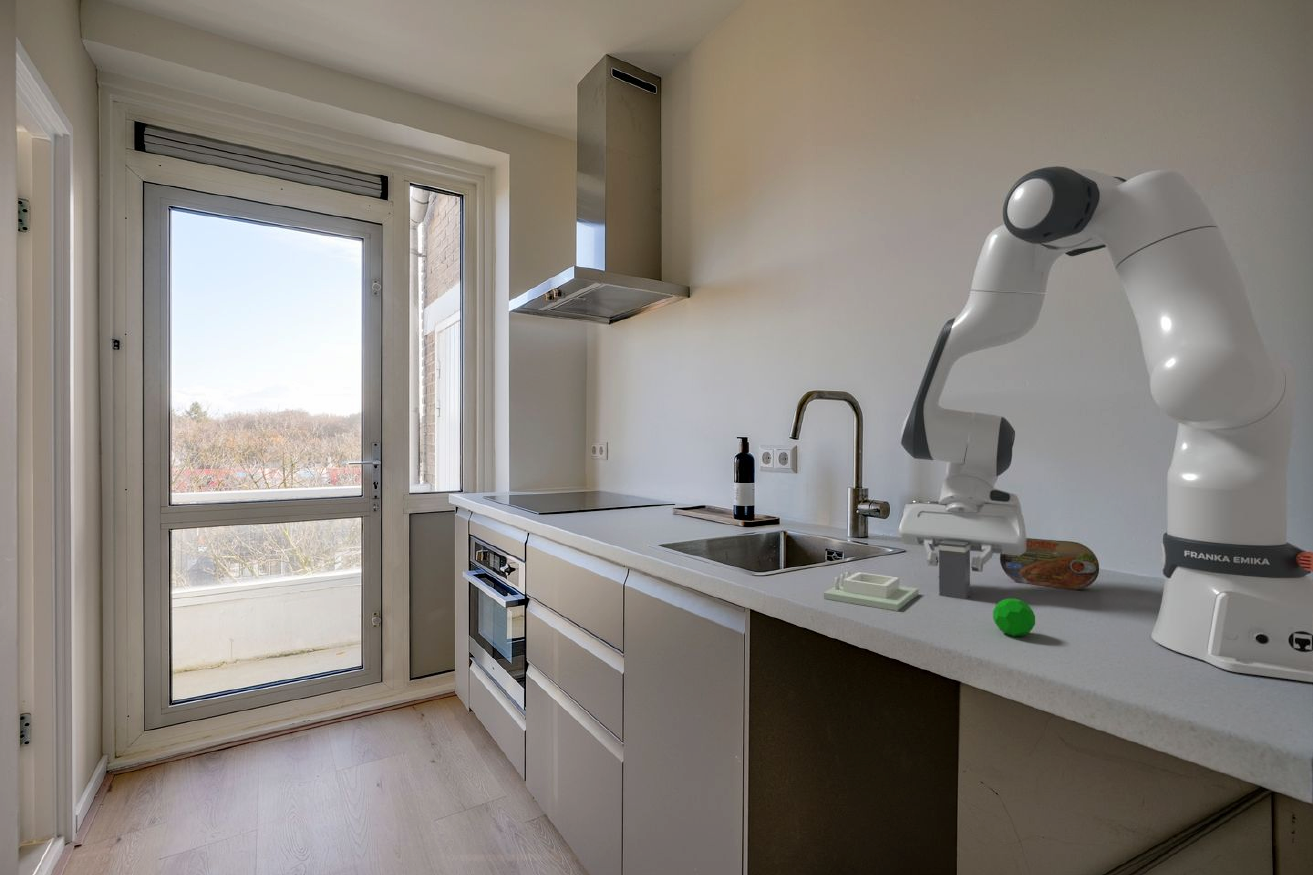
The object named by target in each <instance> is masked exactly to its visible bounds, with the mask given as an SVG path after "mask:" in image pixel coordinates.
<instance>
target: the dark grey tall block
mask: <svg viewBox="0 0 1313 875" xmlns="http://www.w3.org/2000/svg"><path fill="white" fill-rule="evenodd" d="M938 557H939V562H938V578H939V580H938V584H939V585H938V586H939V587H938V590H939V591H938V593H939V594H938V596H940V597H946V598H947V597H949V598H954V599H960V600H967V598H968V597H969V596H970V595H971V551H970V542H966V541H956V540H943V541H941V542H940V543H939V547H938Z"/></svg>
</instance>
